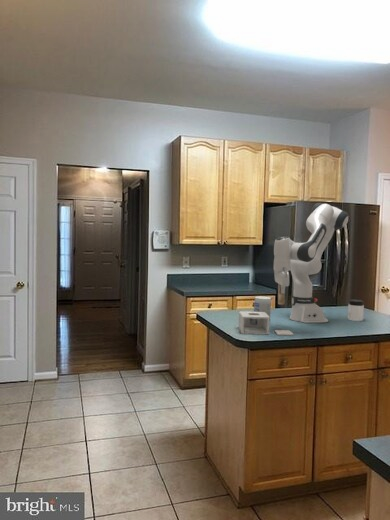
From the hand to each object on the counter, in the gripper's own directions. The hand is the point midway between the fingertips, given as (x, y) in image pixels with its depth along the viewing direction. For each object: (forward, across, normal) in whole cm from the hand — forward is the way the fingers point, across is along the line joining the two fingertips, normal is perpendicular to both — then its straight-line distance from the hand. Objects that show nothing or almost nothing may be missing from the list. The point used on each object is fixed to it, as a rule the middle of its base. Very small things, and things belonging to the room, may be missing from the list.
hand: (281, 292), depth 220 cm
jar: (+22, +30, -52) cm, 64 cm away
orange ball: (+16, -4, +16) cm, 23 cm away
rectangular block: (+6, 0, 0) cm, 6 cm away
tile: (+20, -9, +1) cm, 22 cm away
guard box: (+20, -4, +16) cm, 25 cm away
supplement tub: (+20, +16, +8) cm, 27 cm away
